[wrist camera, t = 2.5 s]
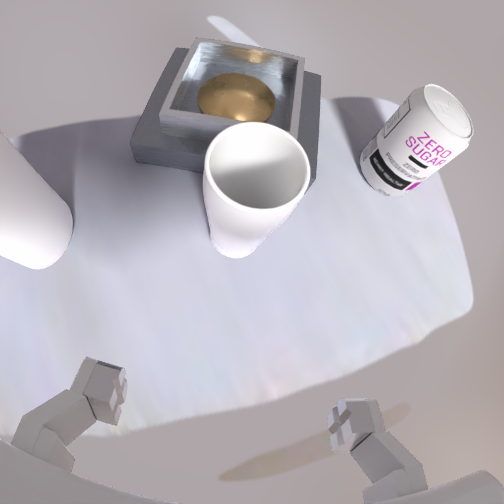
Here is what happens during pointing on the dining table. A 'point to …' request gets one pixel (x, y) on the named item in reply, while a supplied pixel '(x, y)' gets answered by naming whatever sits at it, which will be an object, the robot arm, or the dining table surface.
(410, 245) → the dining table surface
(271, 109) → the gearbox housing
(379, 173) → the supplement can
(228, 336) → the dining table surface
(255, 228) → the drinking glass
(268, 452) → the dining table surface
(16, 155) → the white bottle
